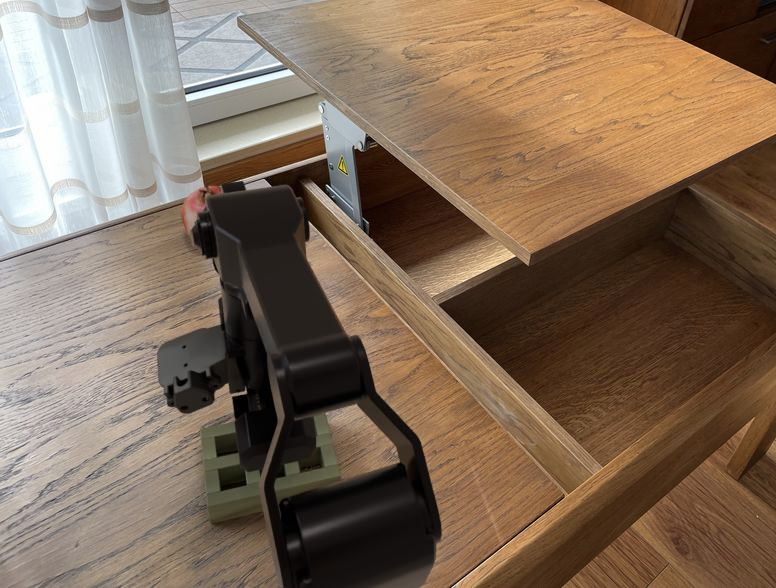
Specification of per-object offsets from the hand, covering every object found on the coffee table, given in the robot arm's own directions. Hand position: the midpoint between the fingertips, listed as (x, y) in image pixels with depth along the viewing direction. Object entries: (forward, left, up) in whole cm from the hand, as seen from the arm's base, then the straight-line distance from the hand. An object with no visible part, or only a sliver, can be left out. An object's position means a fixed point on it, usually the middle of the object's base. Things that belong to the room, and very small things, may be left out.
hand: (267, 423), depth 70 cm
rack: (+2, 0, -11) cm, 12 cm away
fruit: (+42, +2, -12) cm, 44 cm away
